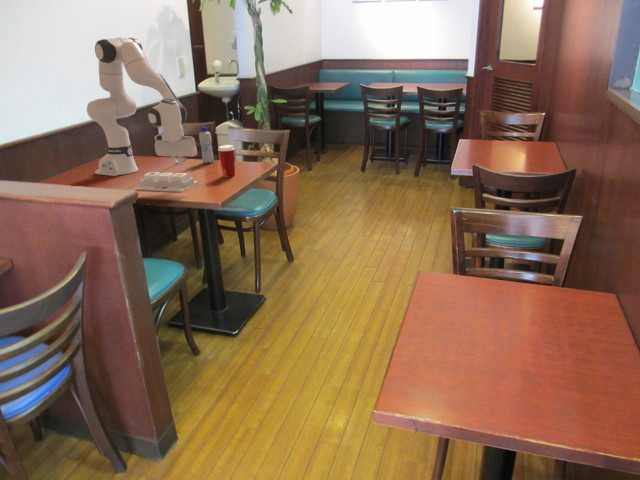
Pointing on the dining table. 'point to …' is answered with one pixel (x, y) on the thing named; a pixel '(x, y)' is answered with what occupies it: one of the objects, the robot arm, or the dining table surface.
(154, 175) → the charcoal key
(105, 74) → the robot arm
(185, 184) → the keypad base
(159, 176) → the sage key
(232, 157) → the coffee cup
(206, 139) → the bottle
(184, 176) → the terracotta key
